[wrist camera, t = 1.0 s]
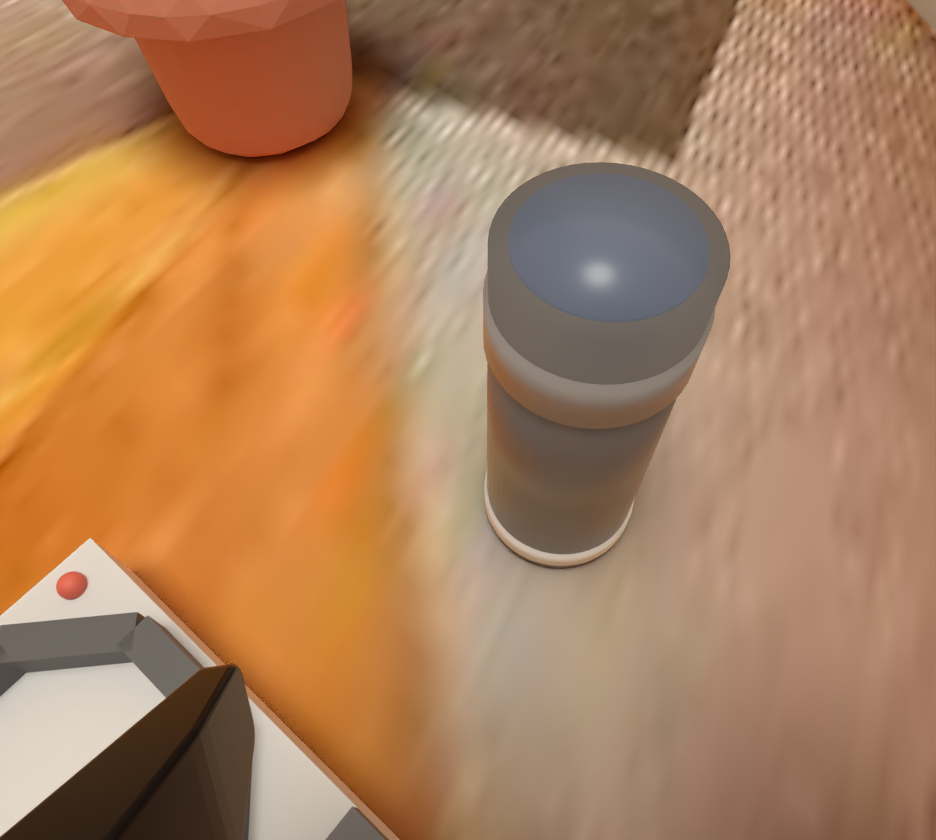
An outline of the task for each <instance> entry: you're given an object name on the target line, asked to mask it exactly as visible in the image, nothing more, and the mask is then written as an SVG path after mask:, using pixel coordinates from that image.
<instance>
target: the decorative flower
mask: <svg viewBox="0 0 936 840" xmlns="http://www.w3.org/2000/svg"><path fill="white" fill-rule="evenodd" d="M62 1H63V2H64V3H65V5H66V6H67V7H68V9H69V10H70V11H71V13H72V14H73V15H74V17H75V18H76V19H77V20H80V21H82V22H85V23H88V24H90V25H93V26H96V27H99V28H101V29H104V30H107V31H109V32H112V33H115V34H118V35H120V36H123V37H134V38H135V39H136V41H137V43H138V45H139V47H140V49H141V51H142V53H143V55H144V57H145V59H146V61H147V62H148V64H149V66H150V68H151V70H152V72H153V74H154V76H155V78H156V80H157V82H158V83H159V85H160V87H161V89H162V91H163V93H164V95H165V97H166V99H167V101H168V103H169V104H170V106H171V108H172V109H173V111H174V112H175V114H176V115H177V117H178V118H179V120H180V121H181V123H182V124H183V126H184V128H185V129H186V131H187V132H188V133H190V134H191V135H192V136H194V137H195V138H196V139H198V140H199V141H200V142H202V143H203V144H204V145H206V146H207V147H209V148H212V149H215V150H218V151H221V152H224V153H227V154H233V155H239V156H246V157H257V156H267V155H276V154H282V153H285V152H287V151H290V150H292V149H295V148H298V147H300V146H303V145H305V144H307V143H310V142H312V141H315V140H316V139H318V138H320V137H321V136H323V135H325V134H326V133H328V132H330V131H331V129H332V128H333V127H334V126H335V125H336V124H337V123H338V121H339V120H340V119H341V118H342V117H343V115H344V113H345V111H346V108H347V106H348V104H349V101H350V97H351V93H352V60H351V50H350V39H349V29H348V18H347V8H346V0H62Z"/></svg>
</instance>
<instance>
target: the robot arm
mask: <svg viewBox="0 0 936 840" xmlns="http://www.w3.org/2000/svg"><path fill="white" fill-rule="evenodd" d="M254 743H255V728H254V721H253V717H252V712H251V708H250V704H249V700H248V695H247V691H246V687H245V683H244V678H243V675H242V672H241V670H240V668H239V667H238V666H237V665H235V664H228V665H220V666H213V667H206V668H202V669H200V670H199V671H198V672H196V673H195V674H194V675H193V676H191V677H190V678H189V679H188V680H187V681H185V682H184V683H183V684H182V685H181V686H180V687H178V688H177V689H176V690H175V691H174V692H172V693H171V694H170V695H169V696H168V697H166V698H165V699H164V700H163V701H162V702H160V703H159V704H158V705H157V706H156V707H154V708H153V709H152V710H151V711H150V712H148V713H147V714H146V715H145V716H144V717H143V718H141V719H140V720H139V721H138V722H137V723H135V724H134V725H133V726H132V727H131V728H129V729H128V730H127V731H126V732H125V733H123V734H122V735H121V736H120V737H119V738H117V739H116V740H115V741H114V742H113V743H112V744H110V745H109V746H108V747H107V748H106V749H104V750H103V751H102V752H101V753H100V754H98V755H97V756H96V757H95V758H94V759H92V760H91V761H90V762H89V763H88V764H86V765H85V766H84V767H83V768H82V769H80V770H79V771H78V772H77V773H76V774H75V775H73V776H72V777H71V778H70V779H69V780H67V781H66V782H65V783H64V784H63V785H61V786H60V787H59V788H58V789H57V790H55V791H54V792H53V793H52V794H51V795H49V796H48V797H47V798H46V799H45V800H43V801H42V802H41V803H40V804H39V805H37V806H36V807H35V808H34V809H33V810H32V811H30V812H29V813H28V814H27V815H26V816H24V817H23V818H22V819H21V820H20V821H18V822H17V823H16V824H15V825H14V826H12V827H11V828H10V829H9V830H8V831H6V832H5V833H4V834H3V835H2V836H0V840H242V838H243V830H244V822H245V815H246V807H247V799H248V791H249V783H250V775H251V768H252V760H253V752H254Z"/></svg>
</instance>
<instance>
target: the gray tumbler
mask: <svg viewBox="0 0 936 840" xmlns="http://www.w3.org/2000/svg"><path fill="white" fill-rule="evenodd" d="M729 268H730V249H729V243H728V240H727V236H726V233H725V231H724V229H723V227H722V225H721V222H720V221H719V219H718V218H717V216H716V215H715V213H714V212H713V211H712V210H711V209H710V207H709V206H708V205H707V204H706V203H705V202H704V201H703V200H702V199H701V198H699V197H698V196H697V195H696V194H695V193H694V192H692V191H691V190H689V189H688V188H686V187H685V186H683V185H682V184H680V183H678V182H676V181H674V180H673V179H671V178H668V177H666V176H664V175H662V174H659V173H657V172H653V171H650V170H647V169H644V168H640V167H636V166H631V165H625V164H618V163H602V162H599V163H582V164H574V165H569V166H565V167H560V168H557V169H554V170H551V171H548V172H545V173H543V174H540V175H538V176H536V177H534V178H532V179H530V180H529V181H527V182H525V183H524V184H522V185H521V186H520V187H518V188H517V189H516V190H515V191H513V192H512V193H511V194H510V195H509V196H508V197H507V198H506V199H505V200H504V202H503V203H502V205H501V206H500V207H499V209H498V210H497V212H496V214H495V216H494V218H493V220H492V224H491V227H490V230H489V237H488V270H487V274H486V277H485V281H484V289H483V337H484V350H485V354H486V359H487V361H488V380H487V470H486V474H485V481H484V500H485V508H486V512H487V515H488V518H489V521H490V523H491V525H492V527H493V529H494V530H495V532H496V534H497V535H498V537H499V538H500V540H501V541H502V542H503V543H504V544H505V545H506V547H508V548H509V549H510V550H511V551H512V552H513V553H515V554H516V555H518V556H519V557H521V558H522V559H524V560H526V561H528V562H531V563H533V564H536V565H539V566H544V567H549V568H570V567H576V566H580V565H583V564H586V563H588V562H590V561H593V560H594V559H596V558H598V557H599V556H601V555H602V554H603V553H605V552H606V551H607V550H609V549H610V548H611V547H612V546H613V545H614V544H615V543H616V542H617V540H618V539H619V538H620V536H621V535H622V533H623V531H624V529H625V527H626V525H627V523H628V520H629V518H630V516H631V513H632V509H633V506H634V499H635V496H636V493H637V491H638V489H639V486H640V484H641V481H642V479H643V477H644V474H645V472H646V470H647V467H648V465H649V462H650V460H651V458H652V455H653V453H654V451H655V448H656V446H657V443H658V441H659V439H660V436H661V434H662V432H663V429H664V427H665V424H666V422H667V420H668V417H669V415H670V413H671V410H672V408H673V406H674V403H675V401H676V398H677V397H678V395H679V394H680V393H681V392H682V390H683V389H684V387H685V386H686V385H687V383H688V381H689V379H690V376H691V374H692V372H693V370H694V367H695V365H696V363H697V360H698V358H699V356H700V353H701V351H702V349H703V347H704V344H705V342H706V340H707V337H708V335H709V333H710V330H711V327H712V323H713V319H714V310H715V306H716V303H717V301H718V299H719V296H720V294H721V292H722V289H723V287H724V284H725V282H726V280H727V276H728V272H729Z"/></svg>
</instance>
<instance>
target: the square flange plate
mask: <svg viewBox="0 0 936 840" xmlns="http://www.w3.org/2000/svg"><path fill="white" fill-rule="evenodd" d="M220 665H226V664H225V663H224V662H223V661H222V660H221V659H220V658H219V657H218V656H217V655H216V654H215V653H214V652H213V651H212V650H211V649H210V648H209V647H208V646H207V645H206V644H205V643H204V642H203V641H202V640H201V639H200V638H199V637H198V636H197V635H196V634H195V633H194V632H193V631H192V630H191V629H190V628H189V627H188V626H187V625H186V624H185V623H184V622H183V621H182V620H181V619H180V618H179V617H178V616H177V615H176V614H175V613H174V612H173V611H172V610H171V609H170V608H169V607H168V606H167V605H166V604H165V603H164V602H163V601H162V600H161V599H160V598H159V597H158V596H157V595H156V594H155V593H154V592H153V591H152V590H151V589H150V588H149V587H148V586H147V585H146V584H145V583H144V582H143V581H142V580H141V579H140V578H139V577H138V576H137V575H136V574H135V573H134V572H133V571H132V570H130V569H129V568H128V567H127V566H125V565H124V564H123V563H122V562H120V561H119V560H118V559H116V558H115V557H114V556H113V555H111V554H110V553H109V552H108V551H106V550H105V549H104V548H103V547H101V546H100V545H99V544H97V543H96V542H95V541H94V540H92V539H91V538H89V539H88V540H87V541H86V542H85V543H84V544H82V545H81V546H80V547H79V548H78V549H77V550H76V551H74V552H73V553H72V554H71V555H70V556H69V557H68V558H66V559H65V560H64V561H63V562H62V563H61V564H59V565H58V566H57V567H56V568H55V569H54V570H53V571H51V572H50V573H49V574H48V575H47V576H46V577H45V578H43V579H42V580H41V581H40V582H39V583H38V584H36V585H35V586H34V587H33V588H32V589H31V590H30V591H28V592H27V593H26V594H25V595H24V596H23V597H22V598H20V599H19V600H18V601H17V602H16V603H15V604H14V605H12V606H11V607H10V608H9V609H8V610H7V611H5V612H4V613H3V614H2V615H1V616H0V836H2V835H3V834H4V833H5V832H6V831H8V830H9V829H10V828H11V827H12V826H14V825H15V824H16V823H17V822H18V821H20V820H21V819H22V818H23V817H24V816H26V815H27V814H28V813H29V812H30V811H32V810H33V809H34V808H35V807H36V806H37V805H39V804H40V803H41V802H42V801H43V800H45V799H46V798H47V797H48V796H49V795H51V794H52V793H53V792H54V791H55V790H57V789H58V788H59V787H60V786H61V785H63V784H64V783H65V782H66V781H67V780H69V779H70V778H71V777H72V776H73V775H75V774H76V773H77V772H78V771H79V770H80V769H82V768H83V767H84V766H85V765H86V764H88V763H89V762H90V761H91V760H92V759H94V758H95V757H96V756H97V755H98V754H100V753H101V752H102V751H103V750H104V749H106V748H107V747H108V746H109V745H110V744H112V743H113V742H114V741H115V740H116V739H117V738H119V737H120V736H121V735H122V734H123V733H125V732H126V731H127V730H128V729H129V728H131V727H132V726H133V725H134V724H135V723H137V722H138V721H139V720H140V719H141V718H143V717H144V716H145V715H146V714H147V713H148V712H150V711H151V710H152V709H153V708H154V707H156V706H157V705H158V704H159V703H160V702H162V701H163V700H164V699H165V698H166V697H168V696H169V695H170V694H171V693H172V692H174V691H175V690H176V689H177V688H178V687H180V686H181V685H182V684H183V683H184V682H185V681H187V680H188V679H189V678H190V677H191V676H193V675H194V674H195V673H196V672H198V671H199V670H200V669H202V668H206V667H213V666H220ZM245 687H246V691H247V695H248V700H249V704H250V708H251V712H252V717H253V721H254V728H255V743H254V752H253V760H252V768H251V775H250V783H249V791H248V799H247V807H246V815H245V822H244V830H243V838H242V840H400V839H399V838H398V837H397V836H396V835H395V834H394V833H393V832H392V831H391V830H390V829H389V828H388V827H387V826H386V825H385V824H384V823H383V822H382V821H381V820H380V819H379V818H378V817H377V816H376V815H375V814H374V813H373V812H372V811H371V810H370V809H369V808H368V807H367V806H366V805H365V804H364V803H363V802H362V801H361V800H360V799H359V798H358V797H357V796H356V795H355V794H354V793H353V792H352V791H351V790H350V789H349V788H348V787H347V786H346V785H345V784H344V783H343V782H342V781H341V780H340V779H339V778H338V777H337V776H336V775H335V774H334V773H333V772H332V771H331V770H330V769H329V768H328V767H327V766H326V765H325V764H324V763H323V762H322V761H321V760H320V759H319V758H318V757H317V756H316V755H315V754H314V753H313V752H312V751H311V750H310V749H309V748H308V747H307V746H306V745H305V744H304V743H303V742H302V741H301V740H300V739H299V738H298V737H297V736H296V735H295V734H294V733H293V732H292V731H291V730H290V729H289V728H288V727H287V726H286V725H285V724H284V723H283V722H282V721H281V720H280V719H279V718H278V717H277V716H276V715H275V714H274V713H273V712H272V711H271V710H270V709H269V708H268V707H267V706H266V705H265V704H264V703H263V702H262V701H261V700H260V699H259V698H258V697H257V696H256V695H255V694H254V693H253V692H252V691H251V690H250V689H249V688H248V687H247V685H246V684H245Z"/></svg>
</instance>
